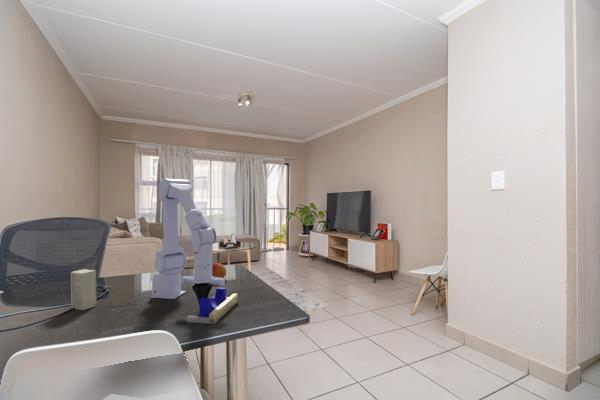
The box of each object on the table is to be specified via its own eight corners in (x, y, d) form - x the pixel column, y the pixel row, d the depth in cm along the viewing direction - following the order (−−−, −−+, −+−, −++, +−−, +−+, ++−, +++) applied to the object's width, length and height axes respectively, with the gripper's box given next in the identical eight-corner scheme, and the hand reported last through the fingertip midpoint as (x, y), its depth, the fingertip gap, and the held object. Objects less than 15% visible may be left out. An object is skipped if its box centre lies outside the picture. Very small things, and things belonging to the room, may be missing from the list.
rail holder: (187, 321, 82) (187, 311, 82) (215, 300, 100) (215, 292, 100) (214, 324, 81) (214, 313, 81) (237, 302, 99) (237, 293, 99)
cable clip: (214, 304, 97) (214, 286, 97) (225, 305, 96) (226, 287, 96) (194, 318, 86) (195, 298, 86) (208, 319, 85) (208, 299, 85)
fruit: (209, 278, 129) (209, 260, 129) (227, 277, 130) (227, 260, 130) (205, 283, 121) (205, 264, 121) (224, 282, 122) (224, 264, 122)
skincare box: (96, 306, 94) (97, 270, 94) (82, 311, 90) (83, 273, 90) (84, 303, 96) (84, 268, 96) (69, 308, 92) (70, 271, 92)
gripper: (175, 266, 89) (175, 308, 88) (218, 268, 86) (217, 312, 86) (188, 261, 96) (187, 301, 95) (227, 263, 93) (227, 303, 93)
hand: (202, 305), depth 91 cm, fingers closed
